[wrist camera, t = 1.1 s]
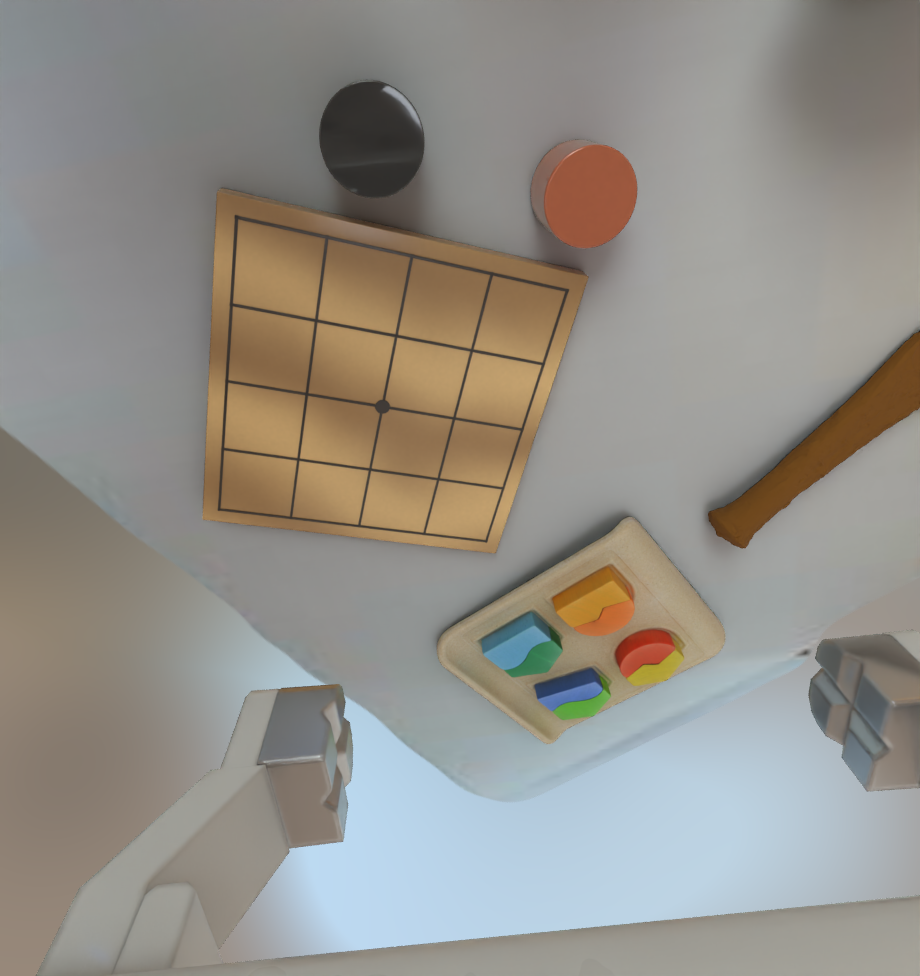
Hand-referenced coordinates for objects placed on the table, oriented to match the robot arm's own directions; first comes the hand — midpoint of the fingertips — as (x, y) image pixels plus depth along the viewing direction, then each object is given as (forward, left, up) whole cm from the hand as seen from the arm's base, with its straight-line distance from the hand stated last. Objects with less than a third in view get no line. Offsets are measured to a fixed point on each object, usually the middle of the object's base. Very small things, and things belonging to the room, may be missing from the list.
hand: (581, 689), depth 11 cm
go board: (+9, -1, -30) cm, 31 cm away
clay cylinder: (-5, +7, -30) cm, 31 cm away
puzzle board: (+27, +19, -30) cm, 44 cm away
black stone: (-5, -4, -30) cm, 31 cm away
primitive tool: (+6, +30, -30) cm, 43 cm away
